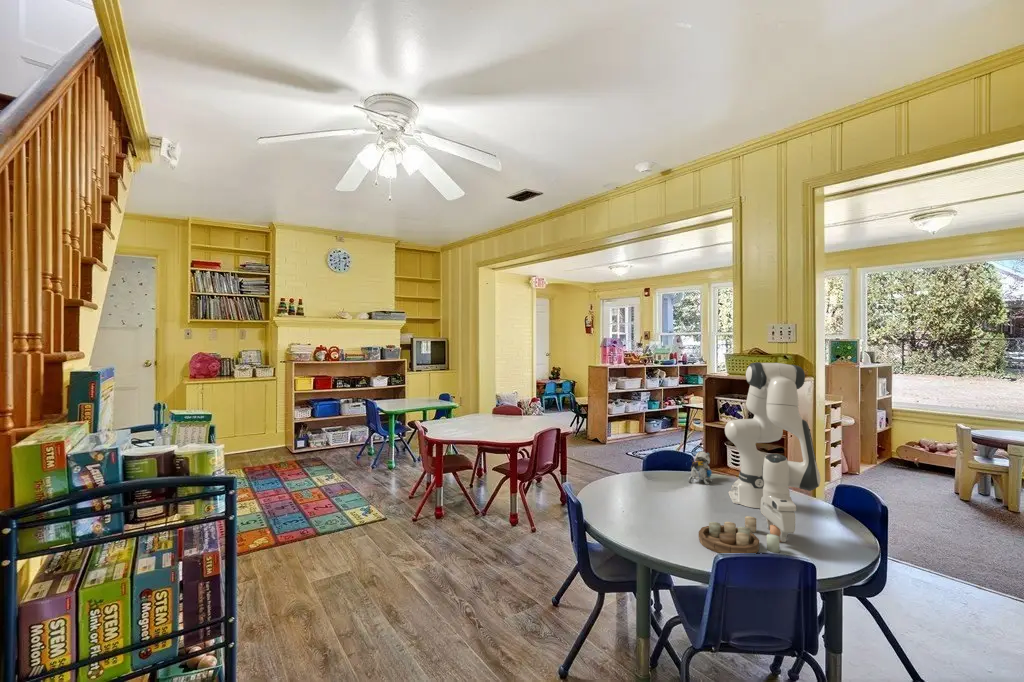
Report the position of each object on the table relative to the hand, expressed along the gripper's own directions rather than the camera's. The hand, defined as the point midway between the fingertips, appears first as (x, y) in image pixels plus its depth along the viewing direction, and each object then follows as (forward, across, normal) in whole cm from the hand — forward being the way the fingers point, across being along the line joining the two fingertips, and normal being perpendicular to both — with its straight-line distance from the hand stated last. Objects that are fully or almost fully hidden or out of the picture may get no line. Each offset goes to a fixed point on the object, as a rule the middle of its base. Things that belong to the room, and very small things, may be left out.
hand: (776, 535), depth 174 cm
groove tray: (+2, +5, -19) cm, 20 cm away
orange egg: (+2, 0, 0) cm, 2 cm away
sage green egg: (+2, +9, -5) cm, 10 cm away
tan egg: (+2, -8, -6) cm, 10 cm away
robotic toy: (+2, -74, -6) cm, 74 cm away
